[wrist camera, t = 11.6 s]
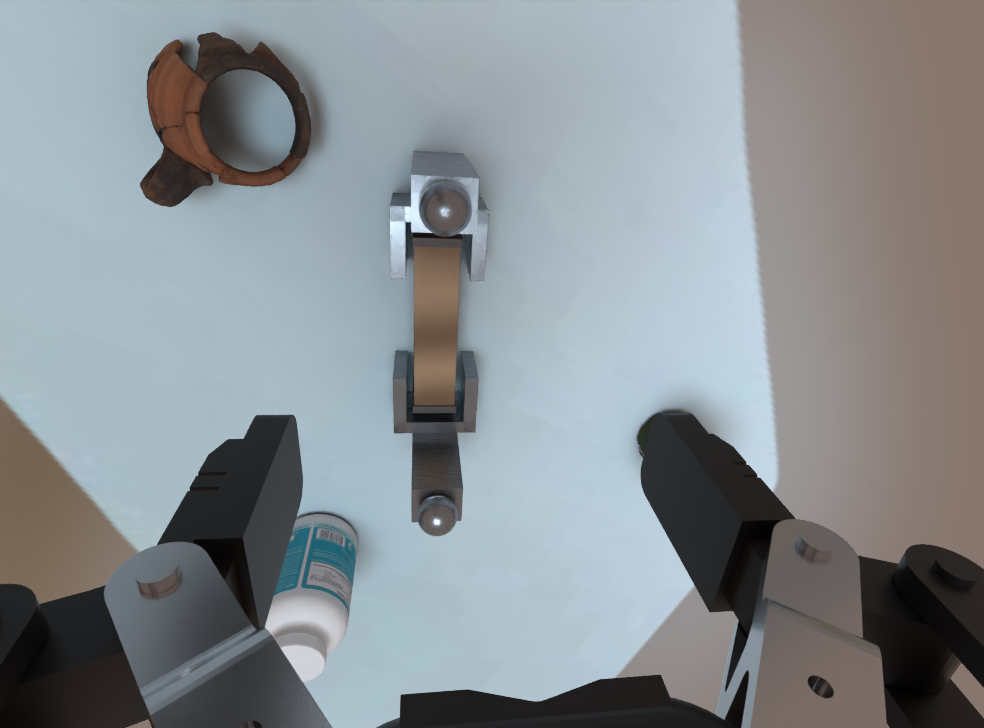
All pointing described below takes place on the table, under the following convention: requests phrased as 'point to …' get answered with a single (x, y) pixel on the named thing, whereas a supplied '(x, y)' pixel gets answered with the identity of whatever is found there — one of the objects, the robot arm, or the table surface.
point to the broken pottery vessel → (178, 118)
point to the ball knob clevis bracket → (435, 453)
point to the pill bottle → (313, 592)
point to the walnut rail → (435, 321)
